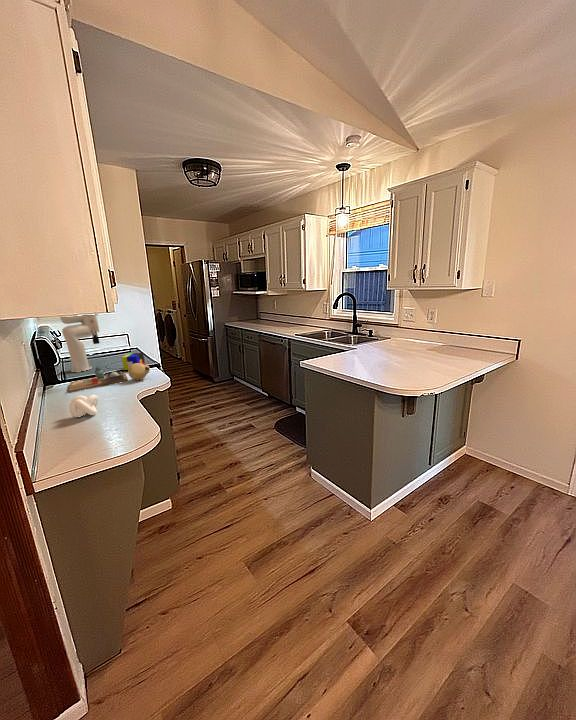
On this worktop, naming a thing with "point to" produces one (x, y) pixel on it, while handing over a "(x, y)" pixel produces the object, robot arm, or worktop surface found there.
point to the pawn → (99, 373)
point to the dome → (113, 374)
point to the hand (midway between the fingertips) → (96, 343)
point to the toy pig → (138, 371)
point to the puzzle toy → (132, 359)
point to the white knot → (83, 405)
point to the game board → (89, 384)
